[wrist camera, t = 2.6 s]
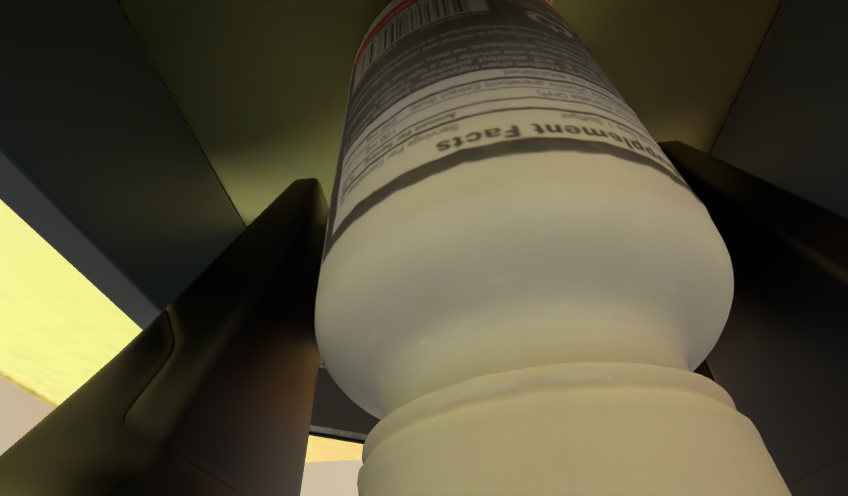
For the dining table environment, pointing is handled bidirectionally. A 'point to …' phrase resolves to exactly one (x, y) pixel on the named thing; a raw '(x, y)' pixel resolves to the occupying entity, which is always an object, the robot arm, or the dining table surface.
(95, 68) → the bin
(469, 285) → the pill bottle
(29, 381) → the dining table surface
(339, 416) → the phone
